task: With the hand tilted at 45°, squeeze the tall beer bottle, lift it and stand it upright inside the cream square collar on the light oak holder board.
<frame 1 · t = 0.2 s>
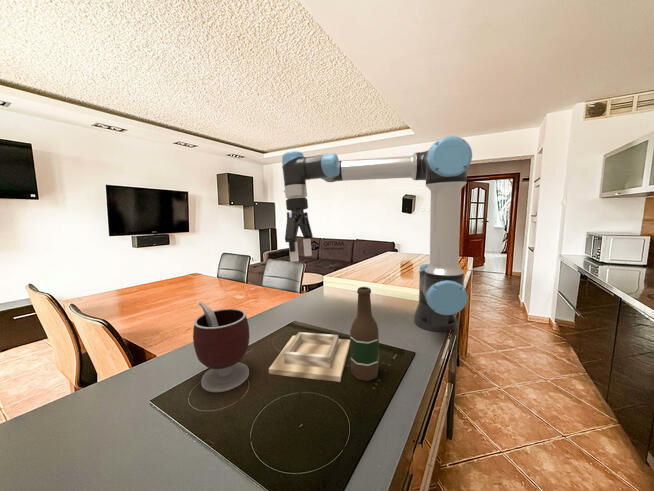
hand: (301, 258, 95), 28 cm above the counter, tool pointing down, fingers open, 13 cm apart
bottle holder: (313, 357, 81), on the counter
beer bottle: (364, 373, 73), on the counter
mate gourd: (224, 376, 74), on the counter
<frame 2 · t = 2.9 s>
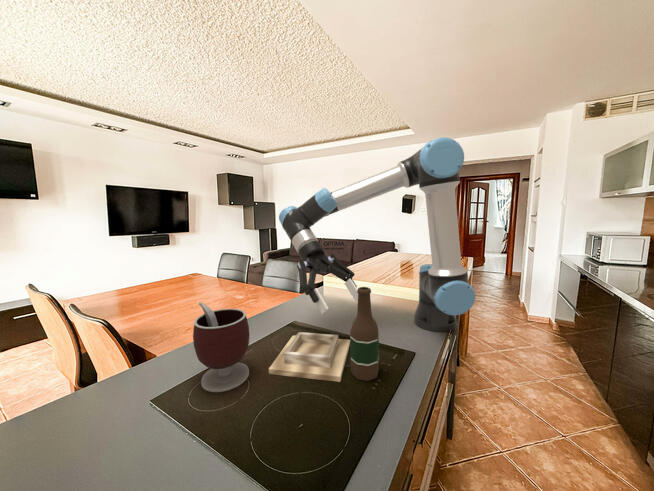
hand: (343, 304, 76), 18 cm above the counter, tool tilted 45°, fingers open, 13 cm apart
nothing on the counter moved.
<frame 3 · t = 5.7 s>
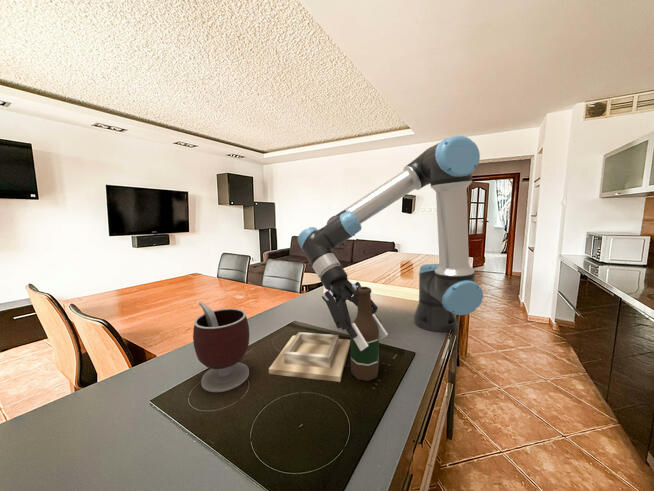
hand: (374, 342, 69), 10 cm above the counter, tool tilted 45°, fingers closed on beer bottle, 8 cm apart
beer bottle: (364, 373, 73), on the counter, touching gripper
everything else where it was.
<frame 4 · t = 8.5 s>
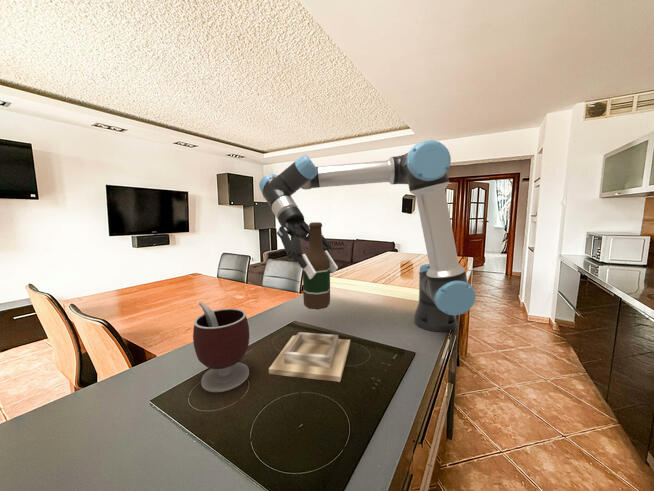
hand: (324, 273, 74), 27 cm above the counter, tool tilted 45°, fingers closed on beer bottle, 7 cm apart
beer bottle: (317, 305, 78), point 17 cm above the counter, touching gripper
everything else where it was.
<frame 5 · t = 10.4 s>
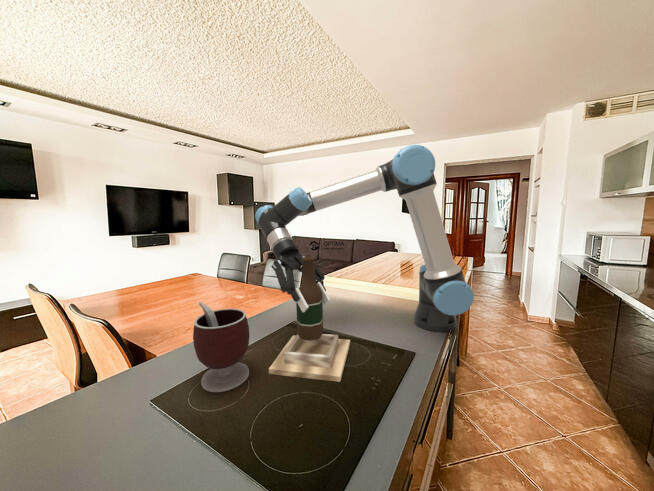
hand: (316, 305, 77), 17 cm above the counter, tool tilted 45°, fingers closed on beer bottle, 7 cm apart
beer bottle: (310, 335, 81), point 7 cm above the counter, touching gripper
everything else where it was.
when the fingers open (13 cm above the counter, at t = 11.7 s): beer bottle drops 1 cm, resting on bottle holder.
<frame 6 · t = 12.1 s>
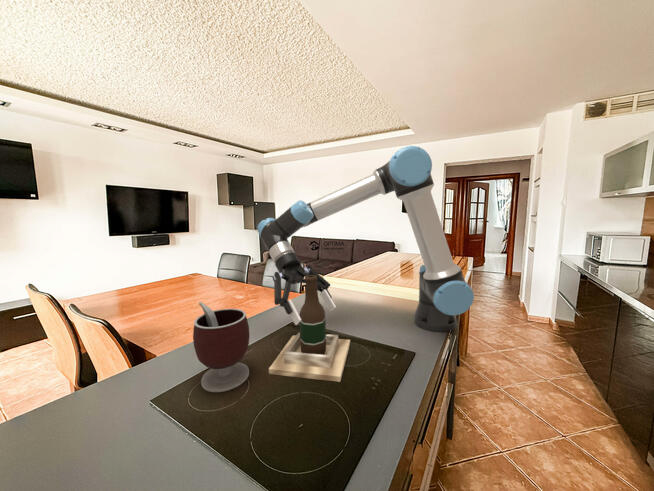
hand: (316, 315, 78), 14 cm above the counter, tool tilted 45°, fingers open, 13 cm apart
beer bottle: (313, 353, 82), point 1 cm above the counter, touching bottle holder
everything else where it was.
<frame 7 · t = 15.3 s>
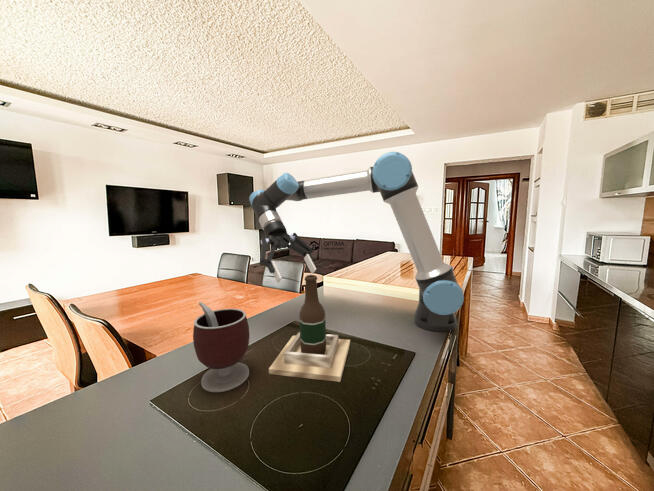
hand: (297, 275, 88), 23 cm above the counter, tool tilted 40°, fingers open, 13 cm apart
nothing on the counter moved.
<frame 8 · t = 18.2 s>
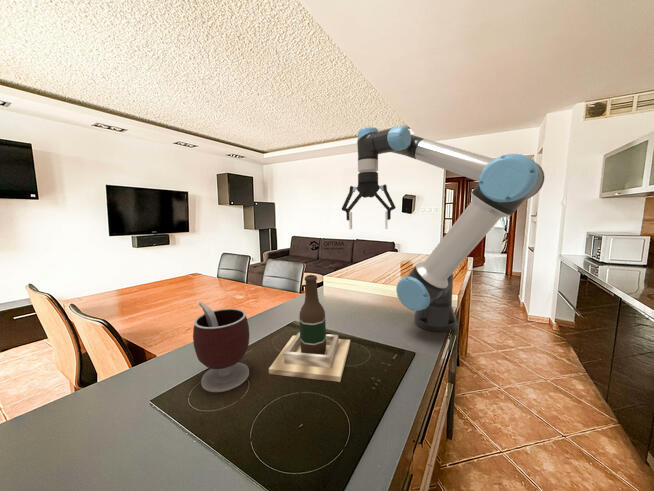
hand: (368, 228, 103), 37 cm above the counter, tool pointing down, fingers open, 13 cm apart
nothing on the counter moved.
at the end: beer bottle 0.3 cm off-centre on the bottle holder, point 1.3 cm above the bottle holder's base; beer bottle tilted 0°; the gripper is holding nothing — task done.
